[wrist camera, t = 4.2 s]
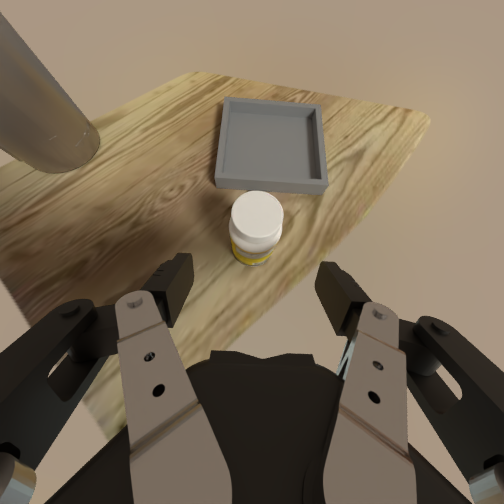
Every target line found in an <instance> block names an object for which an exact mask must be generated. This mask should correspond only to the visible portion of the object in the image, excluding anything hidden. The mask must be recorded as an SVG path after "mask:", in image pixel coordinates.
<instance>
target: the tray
mask: <svg viewBox="0 0 504 504" xmlns="http://www.w3.org/2000/svg"><path fill="white" fill-rule="evenodd" d="M215 182H216V187H217V188H225V189H239V190H254V191H269V192H284V193H299V194H313V195H322V194H323V193H324V191H325V190H326V188H327V187H328V186H329V184H328V174H327V164H326V154H325V144H324V134H323V124H322V114H321V105H317V104H305V103H294V102H282V101H270V100H258V99H247V98H235V97H225V98H224V106H223V114H222V122H221V130H220V138H219V146H218V154H217V162H216V170H215Z"/></svg>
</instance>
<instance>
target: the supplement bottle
mask: <svg viewBox="0 0 504 504" xmlns="http://www.w3.org/2000/svg"><path fill="white" fill-rule="evenodd" d="M282 221H283V209H282V206H281V204H280V203H279V201H278V200H277V199H276V198H275V197H274V196H272V195H271V194H269V193H267V192H263V191H249V192H246V193H244V194H242V195H241V196H239V197H238V198H237V199H236V201H235V202H234V204H233V206H232V210H231V218H230V221H229V234H230V239H231V245H232V249H233V253H234V256H235V257H236V259H237V260H238V261H239V262H240V263H242V264H244V265H246V266H252V267H254V266H259V265H262V264H263V263H265V262H266V261H267V260H268V259H269V258H270V256H271V254H272V252H273V250H274V248H275V246H276V245H277V243H278V241H279V239H280V236H281V232H282Z"/></svg>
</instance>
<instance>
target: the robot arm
mask: <svg viewBox="0 0 504 504" xmlns="http://www.w3.org/2000/svg"><path fill="white" fill-rule="evenodd" d="M99 143H100V139H99V134H98V132H97V130H96V129H95V128H94V127H93V125H92V124H91V123H90V122H89V120H88V119H87V118H86V117H85V115H84V114H83V113H82V112H81V111H80V109H79V108H78V107H77V106H76V104H75V103H74V102H73V101H72V99H71V98H70V97H69V96H68V94H67V93H66V92H65V91H64V89H63V88H62V87H61V86H60V85H59V83H58V82H57V81H56V80H55V78H54V77H53V76H52V75H51V74H50V72H49V71H48V70H47V69H46V67H45V66H44V65H43V64H42V63H41V61H40V60H39V59H38V58H37V56H36V55H35V54H34V53H33V51H32V50H31V49H30V48H29V47H28V46H27V44H26V43H25V42H24V40H23V39H22V38H21V37H20V36H19V34H18V33H17V32H16V31H15V30H14V28H13V27H12V26H11V25H10V23H9V22H8V21H7V20H6V18H5V17H4V16H3V15H2V14H1V12H0V149H2V150H3V151H5V152H6V153H8V154H10V155H11V156H12V157H14V158H15V159H17V160H19V161H24V162H26V163H27V164H28V165H30V166H31V167H33V168H35V169H37V170H39V171H42V172H46V173H61V172H66V171H70V170H73V169H75V168H78V167H80V166H81V165H83V164H85V163H86V162H87V161H88V160H90V159H91V158H92V157H93V155H94V154H95V153H96V151H97V149H98V147H99ZM193 282H194V269H193V259H192V254H191V253H177V255H176V256H175V257H174V258H173V260H168V261H166V262H165V263H163V264H161V265H160V267H159V268H158V269H157V271H155V272H154V274H153V276H151V277H150V278H149V280H148V281H147V282H146V283H145V284H144V286H143V287H142V288H141V289H140V290H139V291H134V292H131V293H128V294H126V295H124V296H123V297H121V298H120V299H119V300H118V301H117V302H116V304H113V305H108V306H102V307H96V308H95V306H94V304H93V302H92V301H91V300H89V299H77V300H73V301H69V302H67V303H64V304H62V305H60V306H58V307H57V308H55V309H54V310H52V311H51V312H50V313H48V314H47V315H46V316H45V317H44V318H42V319H41V320H40V321H39V322H38V323H36V324H35V325H34V326H33V327H32V328H30V329H29V330H28V331H27V332H26V333H24V334H23V335H22V336H21V337H19V338H18V339H17V340H16V341H15V342H13V343H12V344H11V345H10V346H9V347H7V348H6V349H5V350H4V351H3V352H1V353H0V504H29V502H30V499H31V498H32V495H33V492H34V490H35V486H36V473H35V469H36V468H37V467H38V465H39V463H40V462H41V460H42V459H43V457H44V456H45V454H46V453H47V451H48V450H49V448H50V446H51V445H52V443H53V442H54V440H55V439H56V437H57V436H58V434H59V433H60V431H61V430H62V428H63V426H64V425H65V423H66V422H67V420H68V419H69V417H70V416H71V414H72V412H73V411H74V409H75V408H76V406H77V405H78V403H79V402H80V400H81V399H82V397H83V396H84V394H85V393H86V391H87V389H88V388H89V386H90V385H91V383H92V382H93V380H94V379H95V377H96V376H97V374H98V372H99V371H100V369H101V368H102V366H103V365H104V363H105V362H106V360H107V359H108V357H109V355H114V354H118V355H119V363H120V371H121V378H122V386H123V394H124V401H125V409H126V417H127V425H126V426H125V427H124V428H123V429H122V430H121V431H120V432H119V433H118V434H117V435H115V436H114V437H113V438H112V439H111V440H110V441H109V442H108V443H107V444H106V445H105V446H104V447H103V448H102V449H101V450H100V451H99V452H98V453H97V454H96V455H95V456H94V457H93V458H91V459H90V461H88V462H87V463H86V464H85V465H84V466H83V467H82V468H81V469H80V470H79V471H78V472H77V473H76V474H75V475H74V476H73V477H72V478H71V479H69V480H68V481H67V483H65V484H64V485H63V486H62V487H61V488H60V489H59V490H58V491H57V492H56V493H55V494H54V495H53V496H52V497H51V498H50V499H48V500H47V501H46V502H45V503H44V504H472V503H471V502H470V501H469V500H468V499H467V498H466V497H465V496H464V495H463V494H461V492H460V491H458V490H457V489H456V488H455V487H454V486H453V485H452V484H451V483H450V482H449V481H448V480H447V479H446V478H445V477H444V476H443V475H442V474H441V473H440V472H439V471H438V470H436V469H435V467H434V466H432V465H431V464H430V463H429V462H428V461H427V460H426V459H425V458H424V457H423V456H422V455H421V454H420V453H419V452H418V451H417V450H416V449H415V448H414V447H413V446H412V445H411V444H410V443H408V439H407V438H408V436H407V387H408V388H409V390H410V392H411V393H412V395H413V396H414V398H415V399H416V401H417V402H418V404H419V406H420V407H421V409H422V411H423V412H424V414H425V415H426V417H427V418H428V420H429V422H430V423H431V425H432V426H433V428H434V430H435V431H436V433H437V434H438V436H439V438H440V439H441V441H442V443H443V444H444V446H445V447H446V449H447V450H448V452H449V454H450V455H451V457H452V458H453V460H454V462H455V463H456V465H457V466H458V468H459V470H460V471H461V472H462V474H463V476H464V477H465V479H466V481H467V482H468V484H469V489H470V493H471V496H472V499H473V501H474V503H475V504H504V372H503V371H501V370H500V369H499V368H498V367H497V366H496V365H495V364H494V363H493V362H491V361H490V360H489V359H488V358H487V357H486V356H485V355H484V354H482V353H481V352H480V351H479V350H478V349H477V348H476V347H475V346H474V345H472V344H471V343H470V342H469V341H468V340H467V339H466V338H465V337H463V336H462V335H461V334H460V333H459V332H458V331H457V330H456V329H454V328H453V327H452V326H450V325H449V324H447V323H445V322H443V321H441V320H439V319H437V318H434V317H430V316H422V317H420V318H419V319H418V321H417V322H416V323H413V322H409V321H406V320H402V319H399V318H398V316H397V315H396V314H395V313H394V312H393V311H392V310H391V309H389V308H388V307H386V306H384V305H382V304H379V303H375V302H372V301H371V299H370V298H369V297H368V296H367V295H366V293H365V292H364V291H363V290H362V288H361V287H359V285H358V284H357V283H356V282H355V280H354V279H353V278H352V276H350V275H349V274H348V273H346V272H345V271H343V270H341V269H340V268H339V266H338V265H337V264H336V263H335V262H325V261H322V262H321V263H320V266H319V270H318V273H317V277H316V280H315V290H316V293H317V295H318V297H319V299H320V301H321V304H322V306H323V307H324V310H325V312H326V314H327V316H328V318H329V320H330V322H331V324H332V326H333V329H334V331H335V333H336V335H337V336H346V337H347V339H348V340H347V342H346V344H345V347H344V350H343V353H342V356H341V360H340V363H339V366H338V369H337V371H336V374H335V373H333V372H332V371H330V370H329V369H327V368H325V367H323V366H321V365H318V364H315V362H314V358H313V355H312V354H290V353H289V354H288V353H287V354H283V355H279V356H274V357H270V358H266V359H260V358H257V357H254V356H250V355H246V354H244V353H240V352H237V351H214V350H211V354H210V359H207V360H204V361H201V362H198V363H196V364H194V365H192V366H191V367H189V368H187V369H186V370H185V368H184V366H183V363H182V361H181V359H180V356H179V354H178V351H177V349H176V347H175V344H174V342H173V339H172V337H171V335H170V332H169V330H168V328H173V326H174V324H175V322H176V320H177V318H178V315H179V313H180V311H181V309H182V307H183V305H184V302H185V300H186V298H187V296H188V294H189V292H190V289H191V287H192V285H193ZM66 352H67V353H68V355H67V356H66V358H65V359H64V360H63V361H62V362H61V363H60V365H59V366H58V367H57V368H56V369H55V370H54V371H53V373H52V374H51V375H50V376H49V377H48V375H49V372H50V370H51V369H52V368H53V366H54V365H55V364H56V363H57V362H58V361H59V359H60V358H61V357H62V356H63V355H64V354H65V353H66ZM441 365H443V366H444V367H445V369H446V370H447V371H448V372H449V373H450V374H451V375H452V377H453V378H454V379H455V380H456V381H457V383H458V384H459V385H460V387H461V389H462V398H461V400H458V398H457V397H456V396H455V395H454V393H453V392H452V391H451V390H450V388H449V387H448V386H447V385H446V383H445V382H444V381H443V380H442V379H441V377H440V376H439V375H438V374H437V372H436V370H437V369H438V368H439V367H440V366H441Z"/></svg>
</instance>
